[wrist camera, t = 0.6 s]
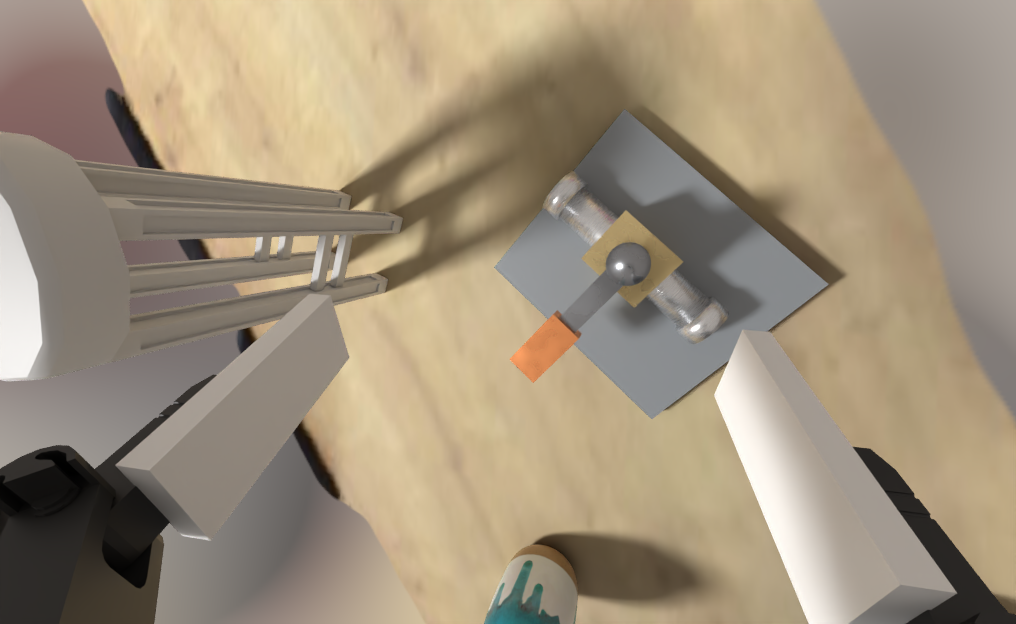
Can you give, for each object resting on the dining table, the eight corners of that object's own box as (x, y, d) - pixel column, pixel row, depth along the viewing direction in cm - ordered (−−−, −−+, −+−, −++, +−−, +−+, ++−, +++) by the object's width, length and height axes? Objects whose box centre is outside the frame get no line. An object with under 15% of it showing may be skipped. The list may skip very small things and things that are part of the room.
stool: (313, 270, 59) (-80, 323, 27) (330, 171, 54) (-126, 92, 22) (393, 310, 56) (49, 425, 24) (419, 208, 51) (30, 177, 19)
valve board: (819, 281, 38) (828, 284, 36) (651, 411, 46) (651, 419, 44) (625, 114, 40) (624, 108, 38) (499, 265, 49) (494, 267, 47)
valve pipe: (729, 302, 39) (751, 322, 31) (683, 340, 42) (692, 369, 33) (581, 169, 41) (564, 155, 33) (545, 212, 44) (521, 209, 35)
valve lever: (660, 261, 32) (661, 263, 30) (539, 377, 38) (534, 384, 36) (628, 232, 33) (627, 233, 31) (514, 352, 39) (508, 357, 37)
